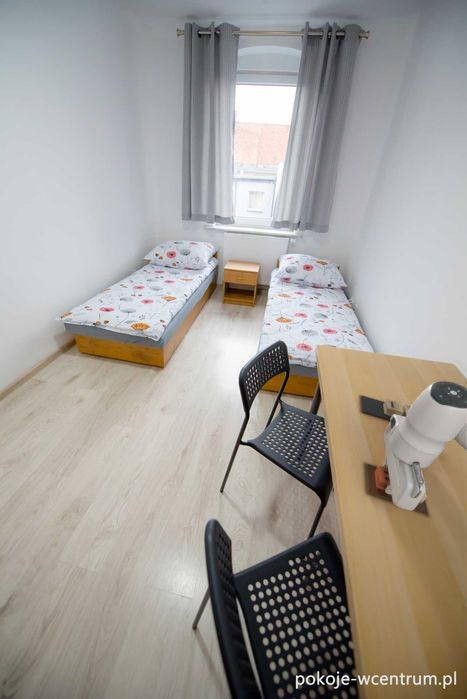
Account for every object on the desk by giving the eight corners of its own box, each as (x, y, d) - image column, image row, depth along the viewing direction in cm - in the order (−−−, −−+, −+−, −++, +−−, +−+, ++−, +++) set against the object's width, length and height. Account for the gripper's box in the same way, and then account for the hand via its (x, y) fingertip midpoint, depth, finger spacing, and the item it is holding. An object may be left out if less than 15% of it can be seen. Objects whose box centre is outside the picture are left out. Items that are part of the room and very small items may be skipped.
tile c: (415, 414, 90) (419, 408, 89) (418, 424, 87) (422, 418, 85) (400, 410, 91) (404, 403, 90) (402, 419, 88) (407, 413, 86)
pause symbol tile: (393, 478, 70) (398, 471, 68) (395, 494, 66) (401, 488, 65) (374, 471, 71) (379, 465, 69) (376, 487, 67) (380, 481, 66)
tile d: (397, 409, 91) (401, 402, 90) (399, 418, 88) (403, 412, 86) (383, 404, 92) (386, 398, 91) (384, 414, 89) (388, 407, 87)
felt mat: (414, 412, 92) (415, 410, 92) (419, 430, 86) (420, 428, 85) (361, 396, 95) (361, 395, 95) (362, 412, 89) (363, 411, 89)
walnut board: (419, 482, 70) (420, 481, 70) (426, 513, 64) (427, 512, 64) (366, 464, 73) (366, 463, 73) (368, 492, 67) (369, 491, 66)
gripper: (442, 495, 51) (407, 528, 59) (419, 417, 68) (394, 451, 76) (406, 482, 53) (377, 516, 61) (391, 409, 69) (370, 443, 77)
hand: (386, 480), depth 68 cm, fingers closed on pause symbol tile, 4 cm apart
